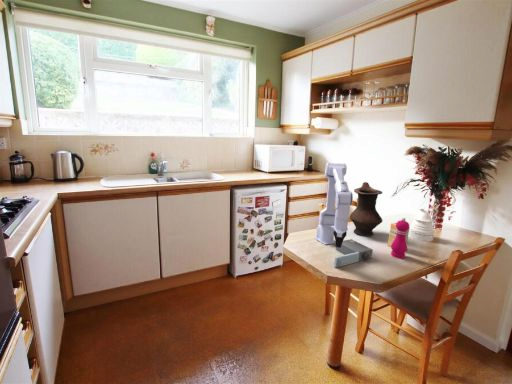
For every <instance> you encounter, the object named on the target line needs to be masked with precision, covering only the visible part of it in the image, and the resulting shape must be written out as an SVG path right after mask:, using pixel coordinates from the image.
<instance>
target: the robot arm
mask: <svg viewBox="0 0 512 384" xmlns="http://www.w3.org/2000/svg"><path fill="white" fill-rule="evenodd" d="M347 167H348V166H347V164H346V163H345V162H343V163H334V162H326V164H325V167H324V178H326V179H327V189H326V202H325V208H323V209H321V210H320V211H319V214H318V215H319V216H318V226H317V227H316V236H315V238H314V239H315V240H316V241H318V242H320V243H322V244H323V245H333V244H335V248H336V247H339V248H341V246H342V242H343V241H344V239H345V238H346V237H347V234H348V233H347V231H348V229H349V228H348V224H349V219H350V217H349V216H350V208H351V207H350V206H351V205H353V199H354V198H353V197H354V194H353V192H352V191H351V190H349V185H348V182H347V181H345V178H344V177H345V176H346V174H347Z"/></svg>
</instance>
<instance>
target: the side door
mask: <svg viewBox="0 0 512 384" xmlns="http://www.w3.org/2000/svg"><path fill="white" fill-rule="evenodd" d="M358 259H359V253H358V252H356V253H351V254H347V255H344V254H342V255H339V256H335V257H334V264H333V266H334V268H339V267H342V266H345V265H350V264H355V263H358V262H359V261H358Z"/></svg>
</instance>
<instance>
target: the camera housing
mask: <svg viewBox="0 0 512 384" xmlns="http://www.w3.org/2000/svg"><path fill="white" fill-rule="evenodd" d="M335 250H336V251H337V252H338V253H341V254H342V255H347V254H351V253H356V252H358V253H359V259H358V262H361V261H365V260H368V259H372V257H373V249H372V248H371V247H369V246H366V245H364V244H363V243H360V242H358V241H356V240H354V239H345V240H343V242H342V246H341V248H339V247H336V246H335Z"/></svg>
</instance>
